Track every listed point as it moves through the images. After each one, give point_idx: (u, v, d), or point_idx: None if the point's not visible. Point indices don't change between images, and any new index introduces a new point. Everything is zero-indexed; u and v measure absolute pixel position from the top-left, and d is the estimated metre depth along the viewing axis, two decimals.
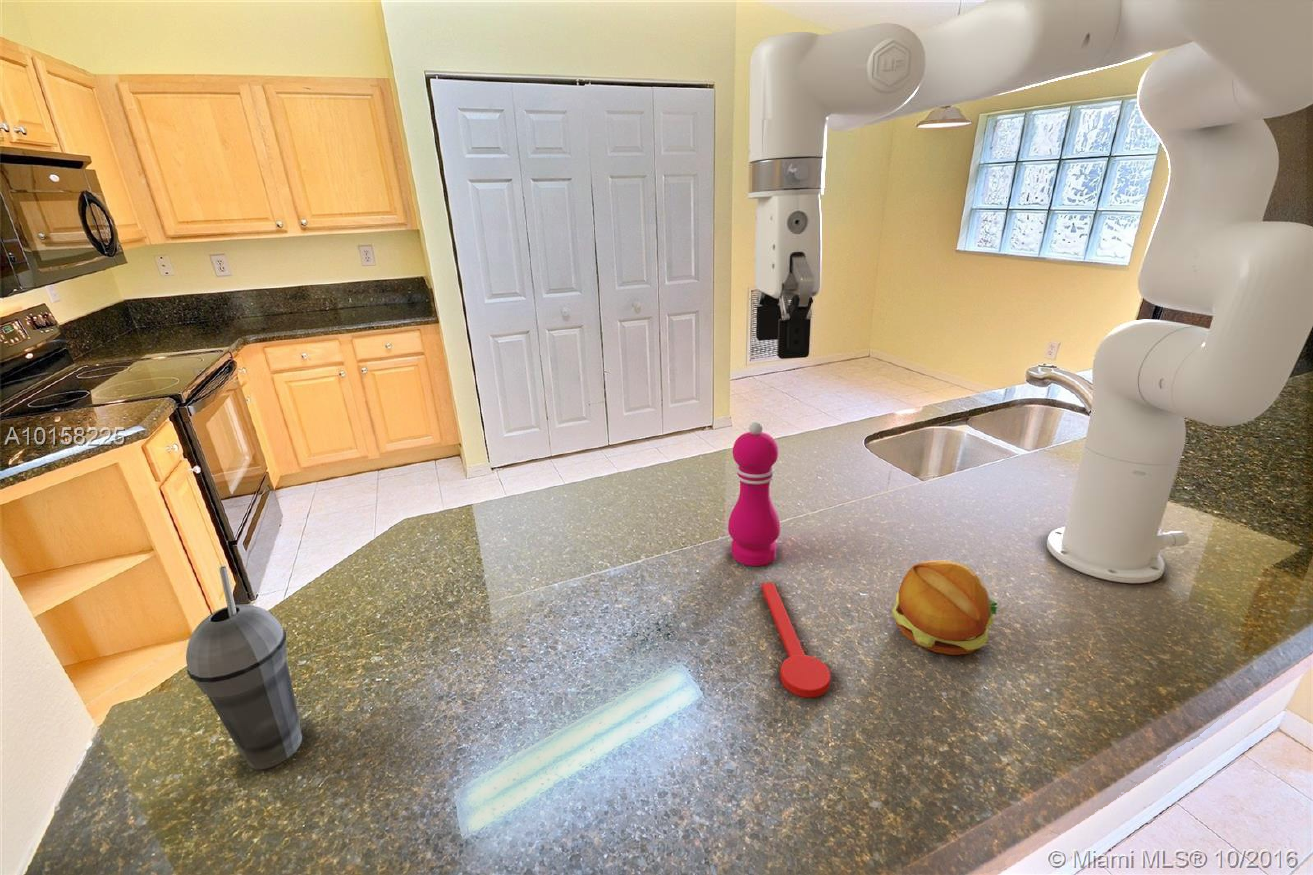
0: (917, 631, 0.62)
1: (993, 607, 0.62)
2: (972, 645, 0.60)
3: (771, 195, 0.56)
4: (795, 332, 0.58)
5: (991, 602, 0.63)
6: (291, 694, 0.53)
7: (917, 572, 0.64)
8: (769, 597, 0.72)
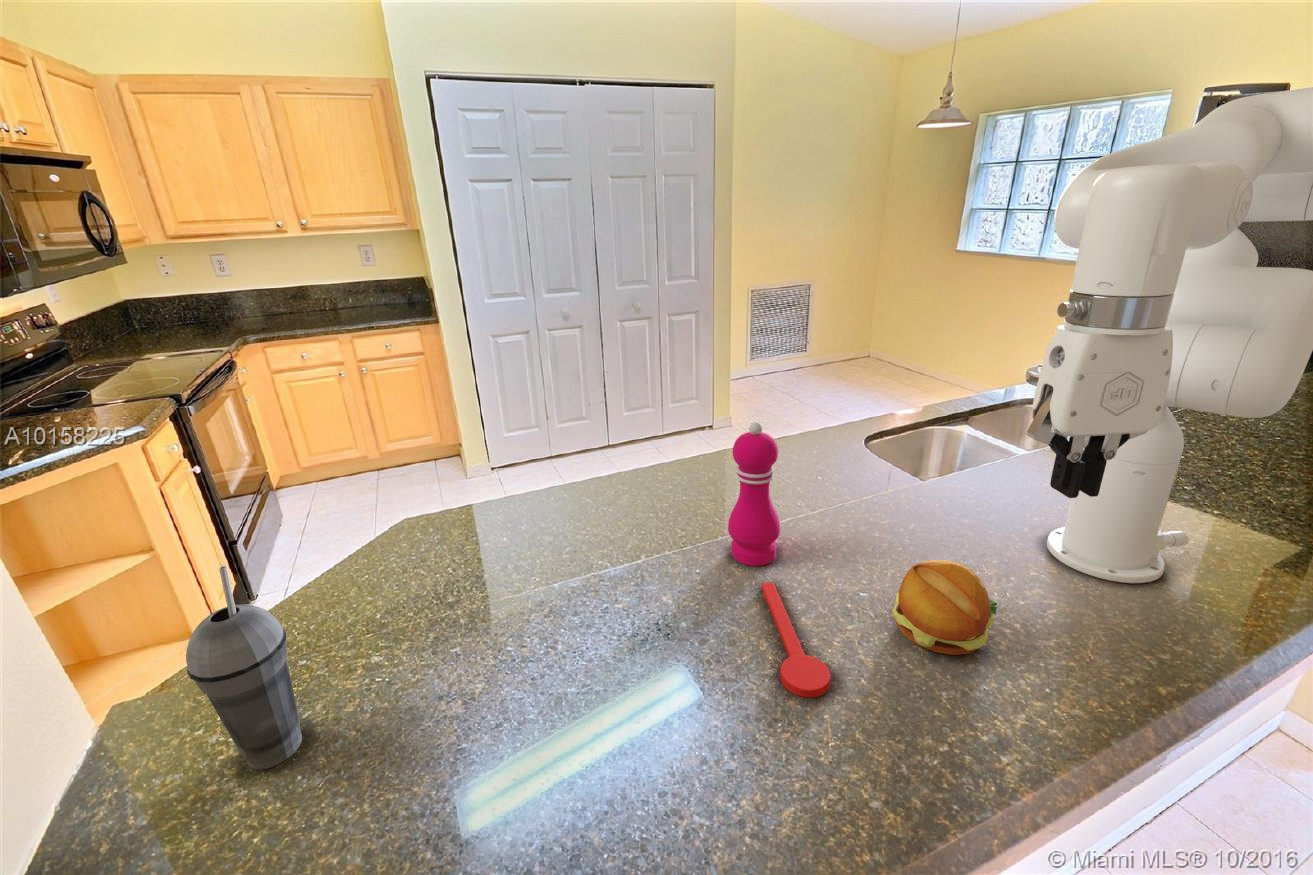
0: (917, 631, 0.62)
1: (993, 607, 0.62)
2: (972, 645, 0.60)
3: (1063, 324, 0.56)
4: (1058, 467, 0.59)
5: (991, 602, 0.63)
6: (291, 694, 0.53)
7: (917, 572, 0.64)
8: (769, 597, 0.72)
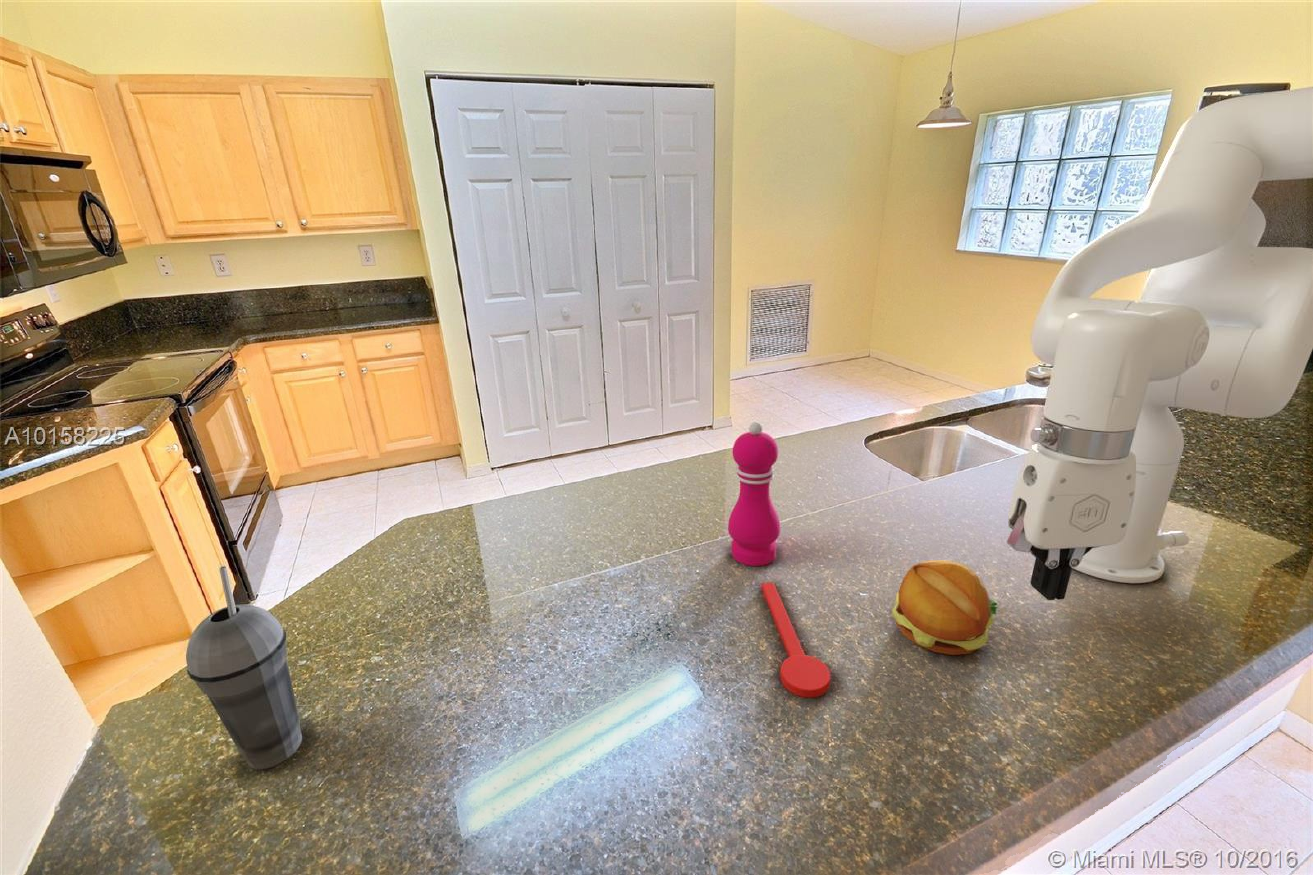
0: (917, 631, 0.62)
1: (993, 607, 0.62)
2: (972, 645, 0.60)
3: (1037, 443, 0.60)
4: (1037, 571, 0.63)
5: (991, 602, 0.63)
6: (291, 694, 0.53)
7: (917, 572, 0.64)
8: (769, 597, 0.72)
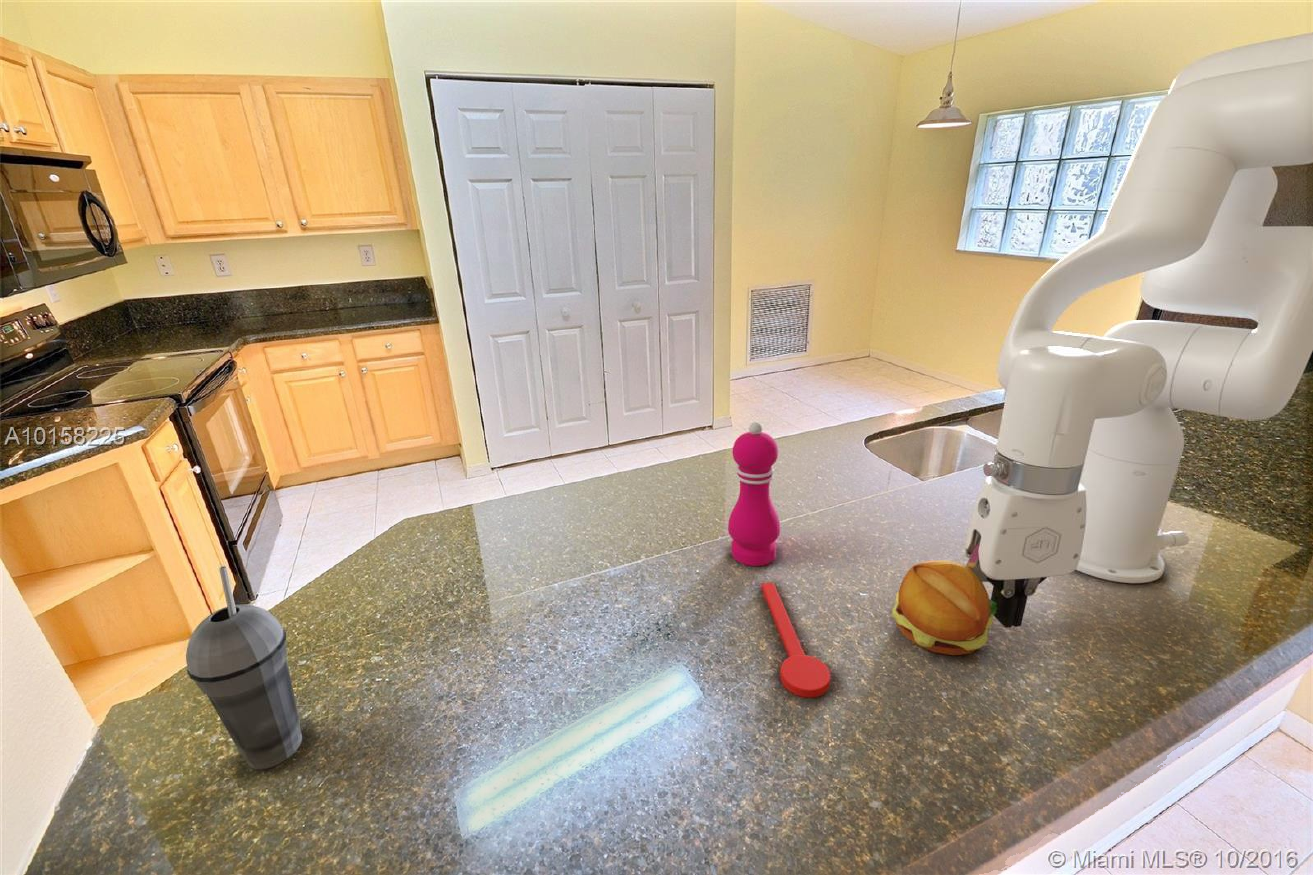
0: (917, 631, 0.62)
1: (993, 607, 0.62)
2: (972, 645, 0.61)
3: (991, 475, 0.61)
4: (995, 599, 0.64)
5: (991, 602, 0.63)
6: (291, 694, 0.53)
7: (917, 572, 0.64)
8: (769, 597, 0.72)
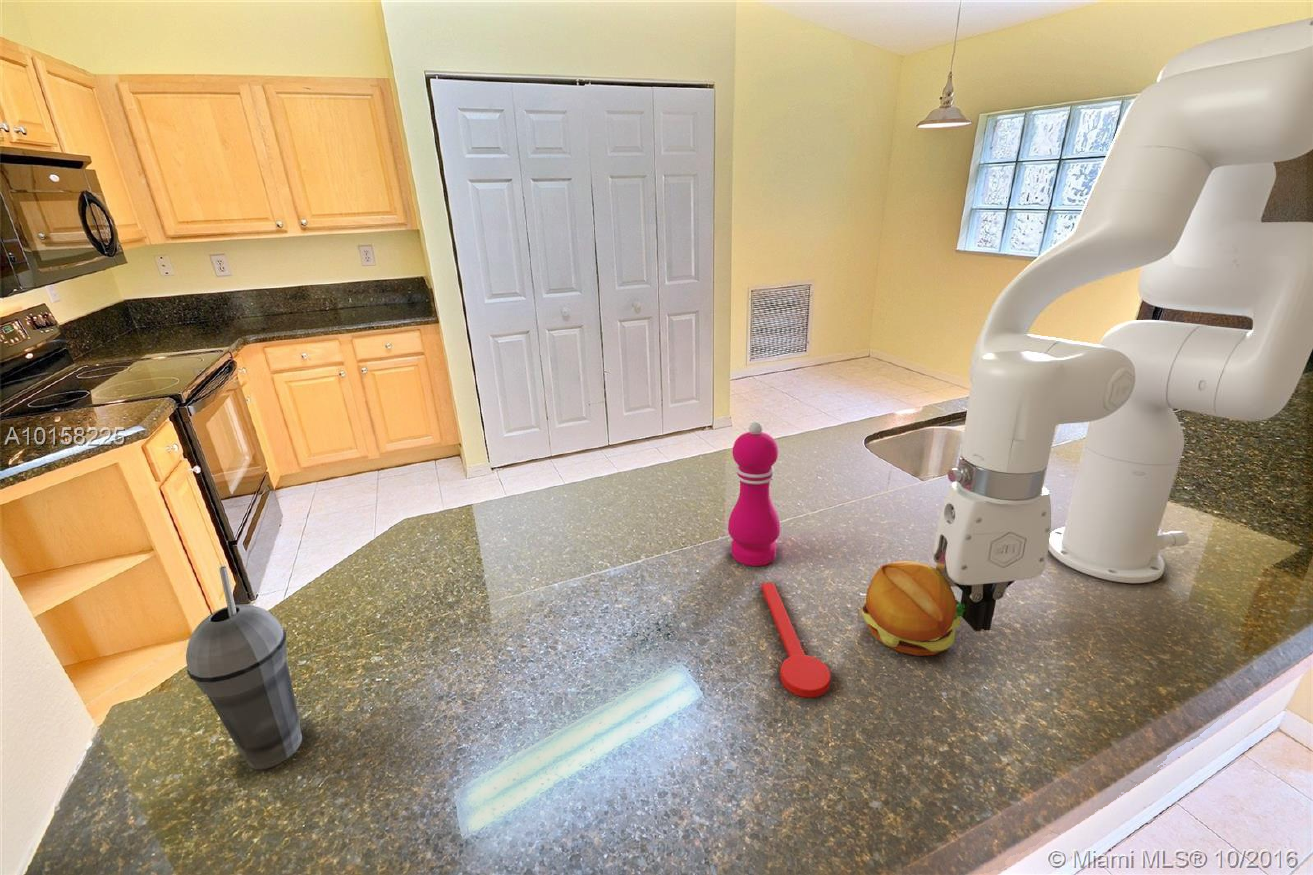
0: (882, 630, 0.62)
1: (960, 609, 0.62)
2: (936, 646, 0.61)
3: None
4: (964, 602, 0.64)
5: (959, 604, 0.63)
6: (291, 694, 0.53)
7: (885, 572, 0.64)
8: (769, 597, 0.72)
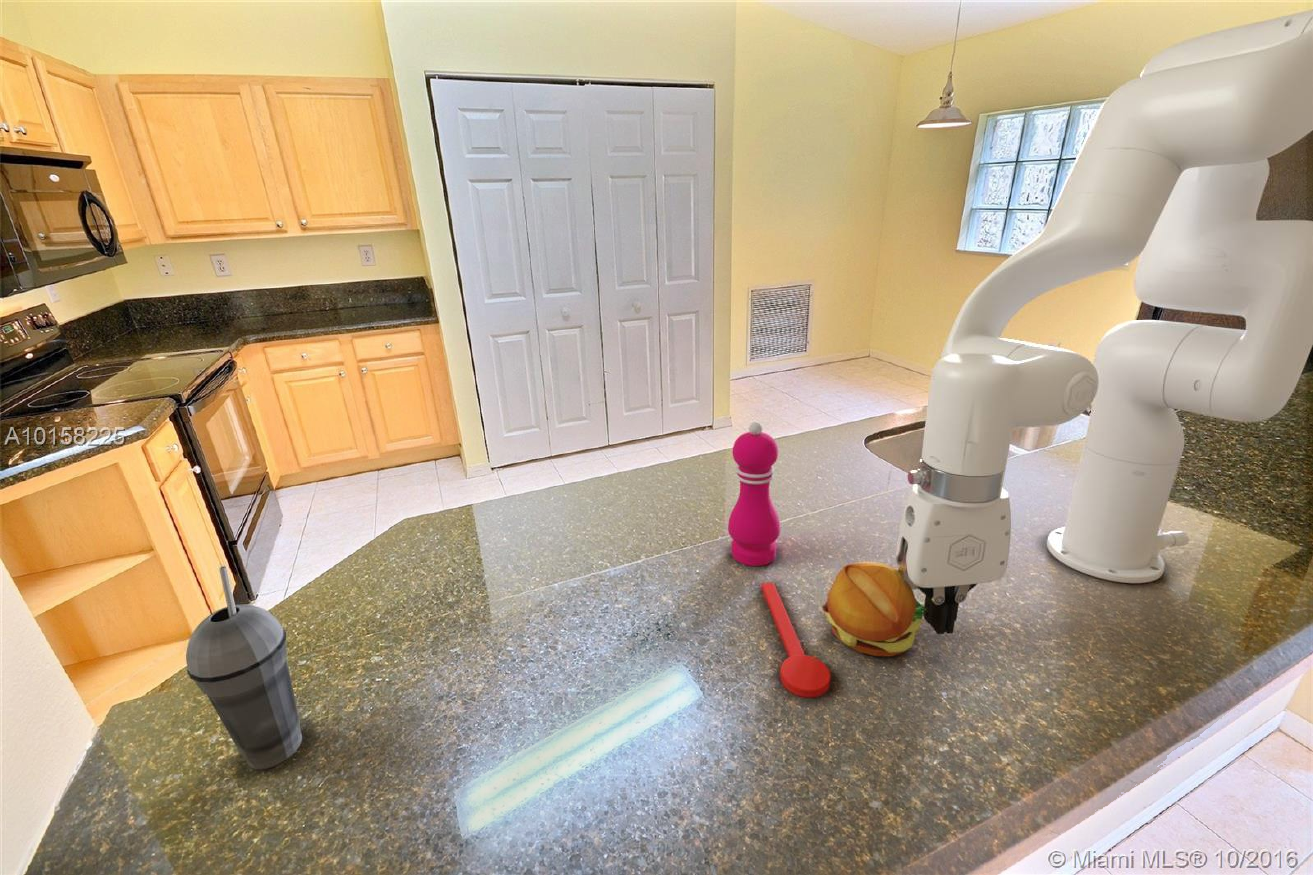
0: (840, 629, 0.62)
1: (920, 612, 0.62)
2: (893, 648, 0.61)
3: None
4: (927, 605, 0.64)
5: (921, 607, 0.63)
6: (291, 694, 0.53)
7: (848, 572, 0.64)
8: (769, 597, 0.72)
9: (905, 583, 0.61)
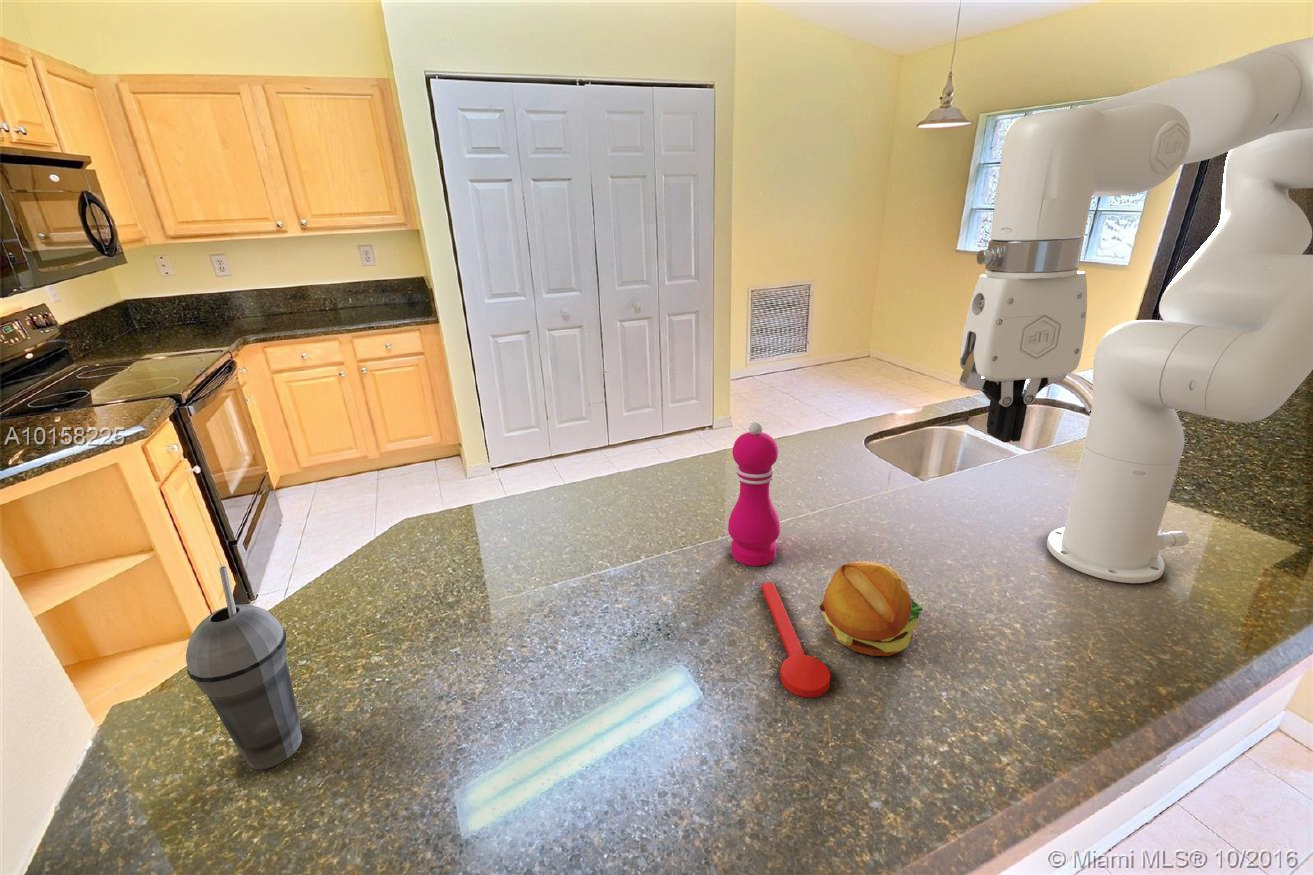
0: (836, 629, 0.63)
1: (916, 612, 0.62)
2: (889, 647, 0.61)
3: (985, 273, 0.57)
4: (992, 413, 0.61)
5: (917, 607, 0.62)
6: (291, 694, 0.53)
7: (844, 571, 0.64)
8: (769, 597, 0.72)
9: (901, 583, 0.61)
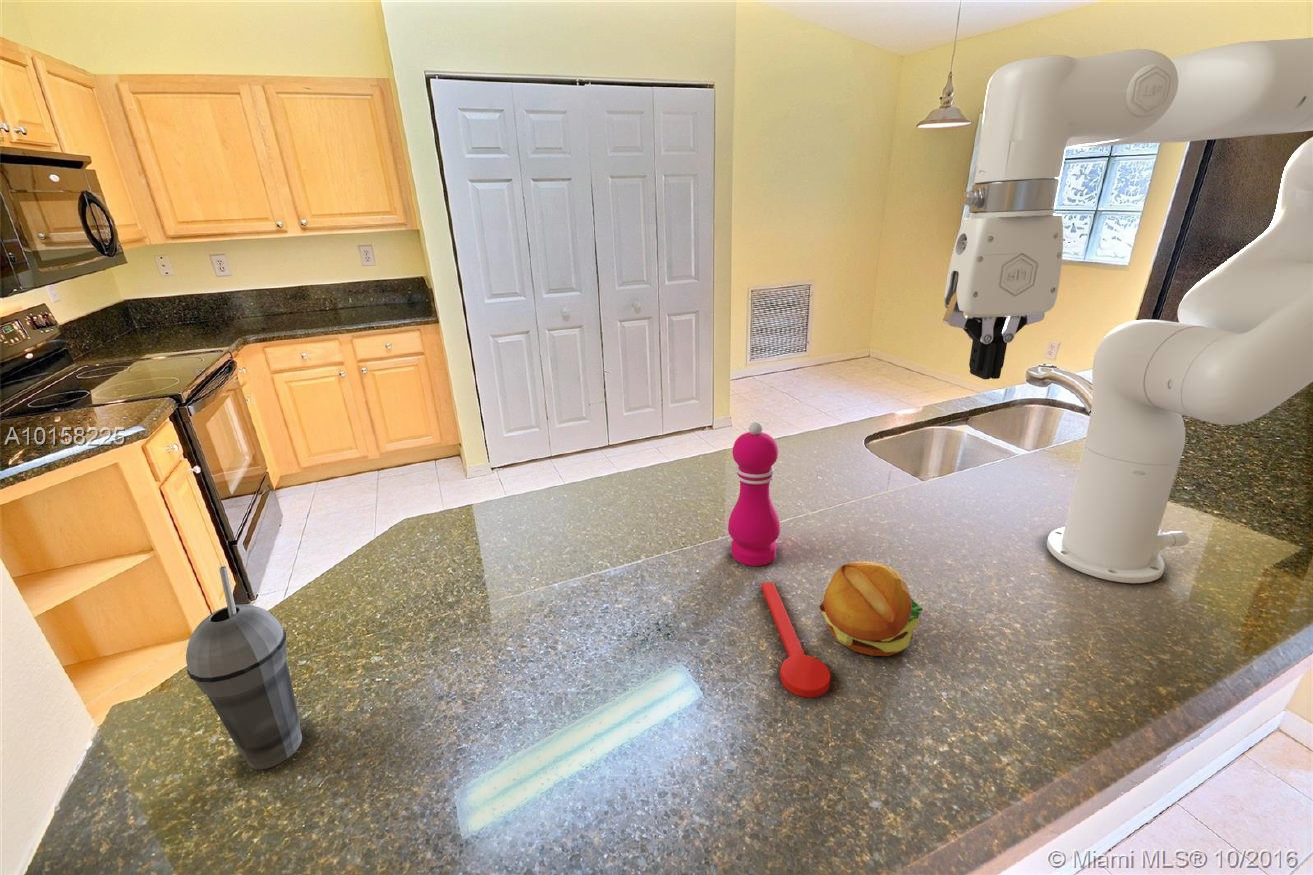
0: (836, 629, 0.63)
1: (916, 612, 0.62)
2: (889, 647, 0.61)
3: None
4: (974, 352, 0.64)
5: (917, 607, 0.62)
6: (291, 694, 0.53)
7: (844, 571, 0.64)
8: (769, 597, 0.72)
9: (901, 583, 0.61)
